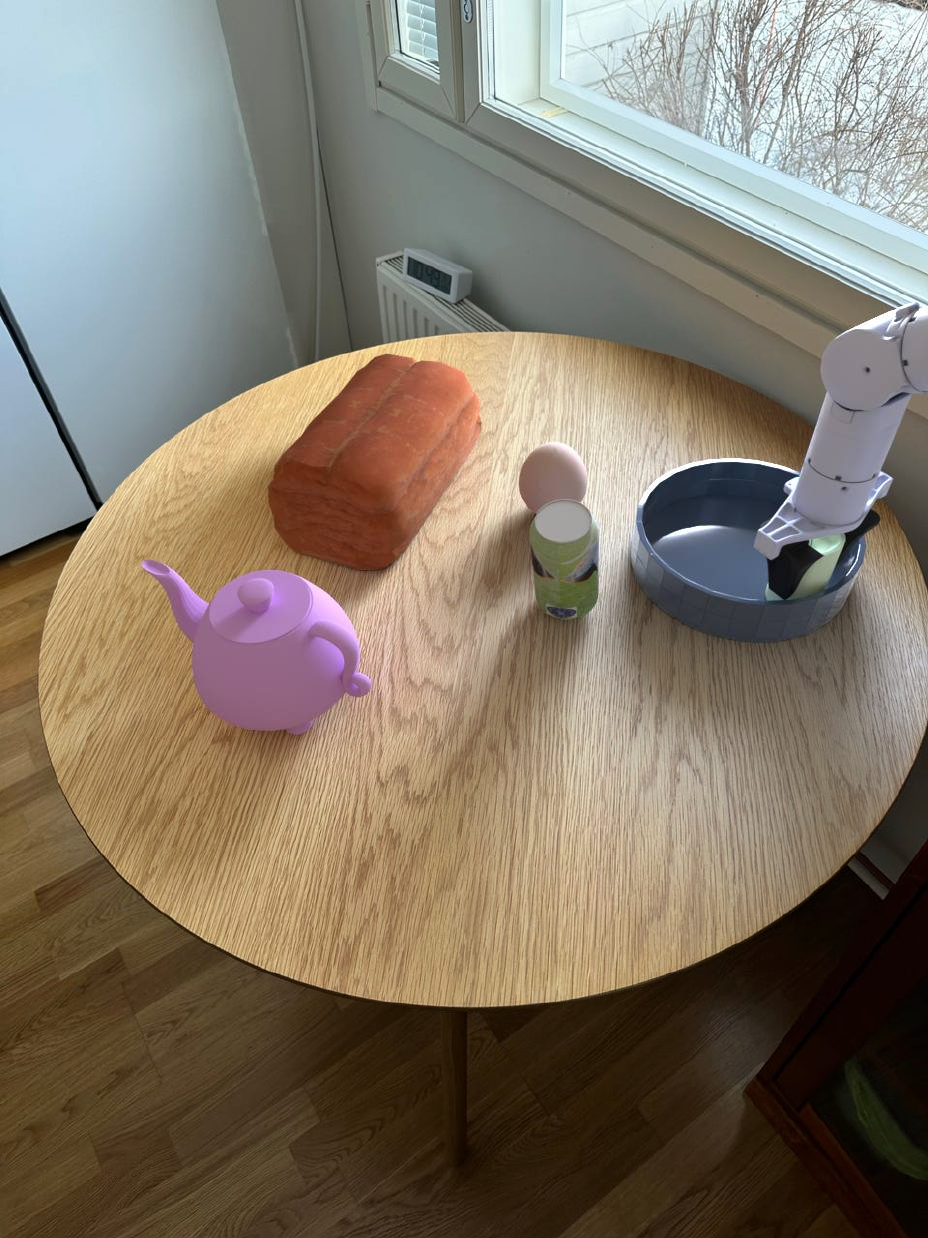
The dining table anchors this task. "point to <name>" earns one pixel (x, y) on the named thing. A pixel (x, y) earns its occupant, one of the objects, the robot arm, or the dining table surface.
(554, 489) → the egg
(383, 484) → the bread
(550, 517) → the beverage can
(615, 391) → the dining table surface
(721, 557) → the bowl
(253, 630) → the teapot
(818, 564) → the candle
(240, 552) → the dining table surface
